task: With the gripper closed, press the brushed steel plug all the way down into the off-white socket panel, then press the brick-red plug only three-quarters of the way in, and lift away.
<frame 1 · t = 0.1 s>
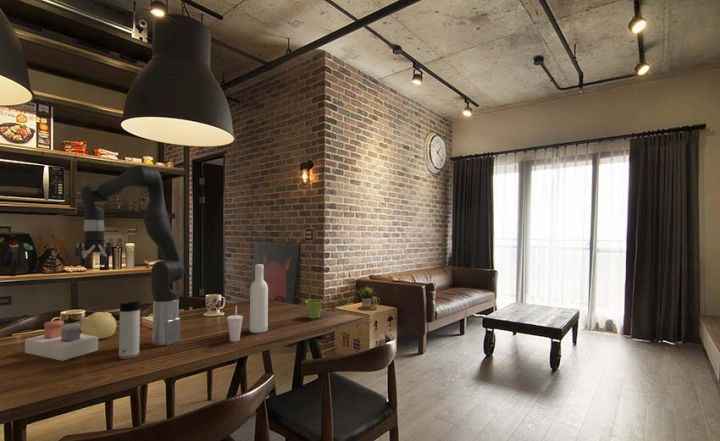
hand: (93, 265, 167), 29 cm above the table, tool pointing down, fingers open, 8 cm apart
smoothie: (234, 340, 153), on the table
socket panel: (61, 351, 138), on the table
bottle: (258, 331, 168), on the table
pale yellow round lump: (99, 338, 156), on the table
travel mug: (129, 356, 133), on the table
steel plug: (70, 332, 136), point 7 cm above the table, slide at 0.0 cm
plant pot: (313, 317, 194), on the table
red plug: (53, 330, 140), point 7 cm above the table, slide at 0.0 cm
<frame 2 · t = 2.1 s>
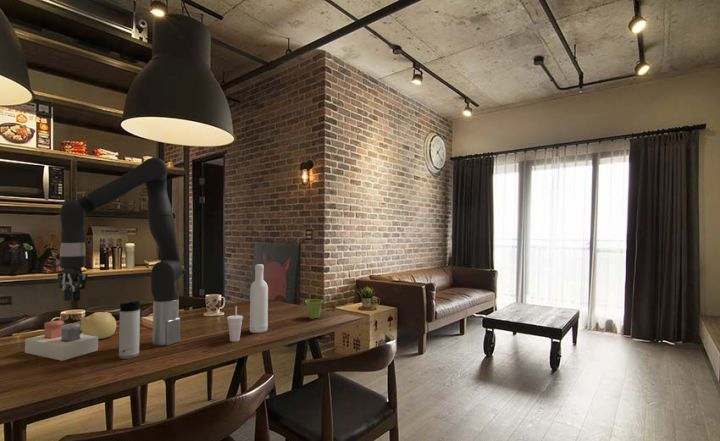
hand: (71, 300, 137), 19 cm above the table, tool pointing down, fingers open, 4 cm apart
nothing on the table moved.
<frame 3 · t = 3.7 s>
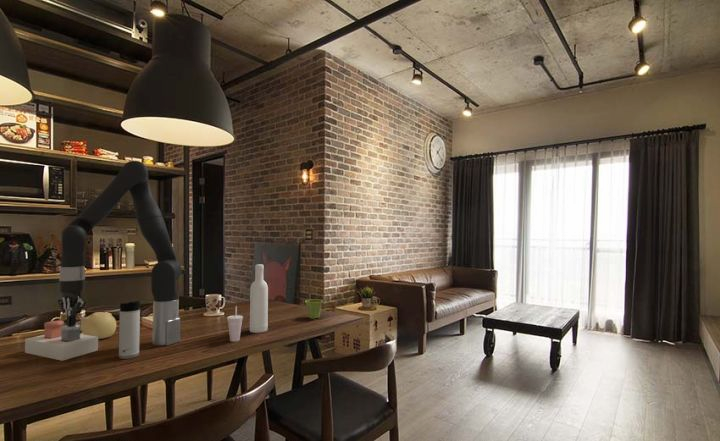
hand: (70, 325, 137), 10 cm above the table, tool pointing down, fingers closed
steel plug: (70, 333, 136), point 7 cm above the table, slide at 0.3 cm, touching gripper
everything else where it was.
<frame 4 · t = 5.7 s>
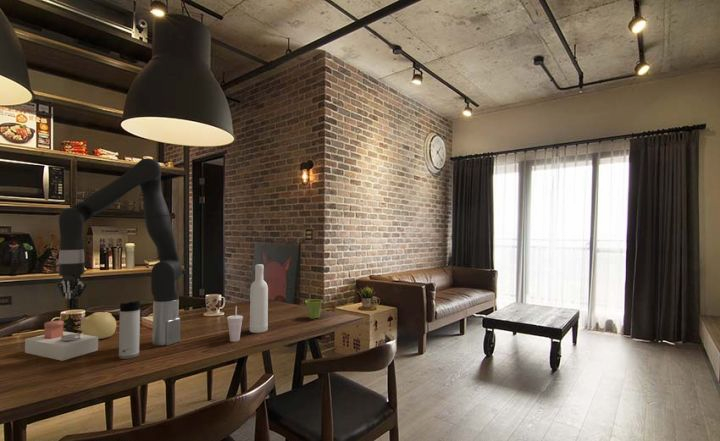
hand: (71, 308, 136), 16 cm above the table, tool pointing down, fingers closed
steel plug: (70, 344, 136), point 3 cm above the table, slide at 4.1 cm
everything else where it was.
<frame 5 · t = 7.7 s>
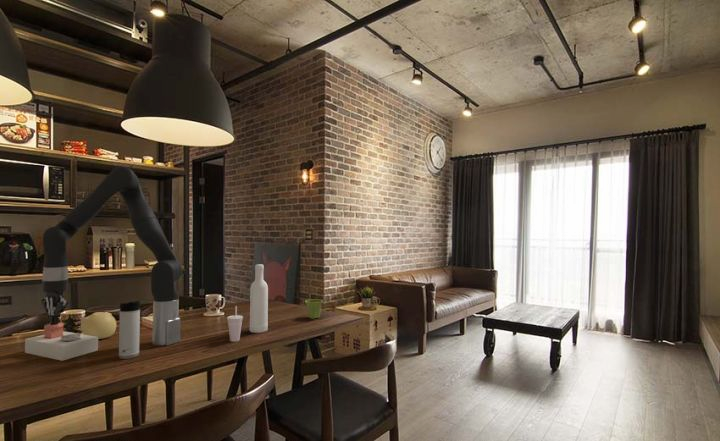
hand: (54, 324, 140), 10 cm above the table, tool pointing down, fingers closed
red plug: (53, 332, 140), point 7 cm above the table, slide at 0.9 cm, touching gripper
everything else where it was.
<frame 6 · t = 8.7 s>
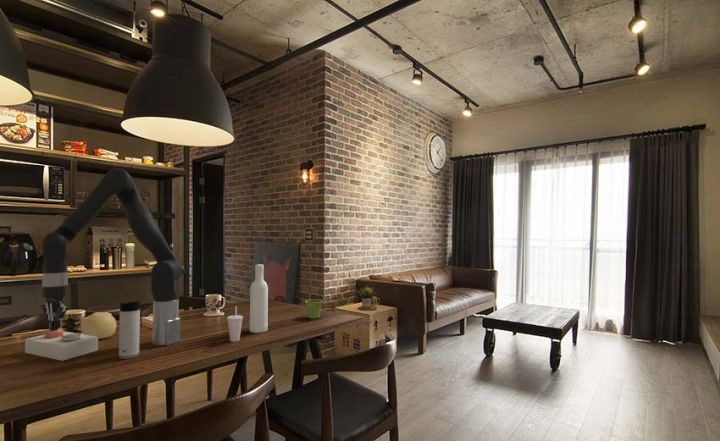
hand: (53, 330, 140), 7 cm above the table, tool pointing down, fingers closed
red plug: (53, 337, 140), point 4 cm above the table, slide at 3.0 cm
everything else where it was.
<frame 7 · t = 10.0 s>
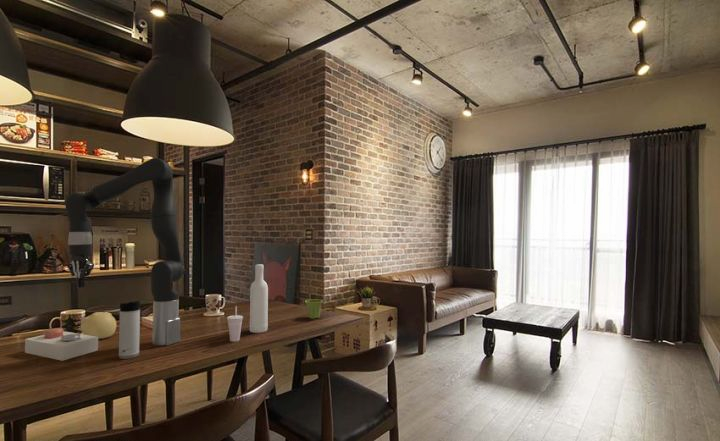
hand: (80, 287, 146), 23 cm above the table, tool pointing down, fingers closed
nothing on the table moved.
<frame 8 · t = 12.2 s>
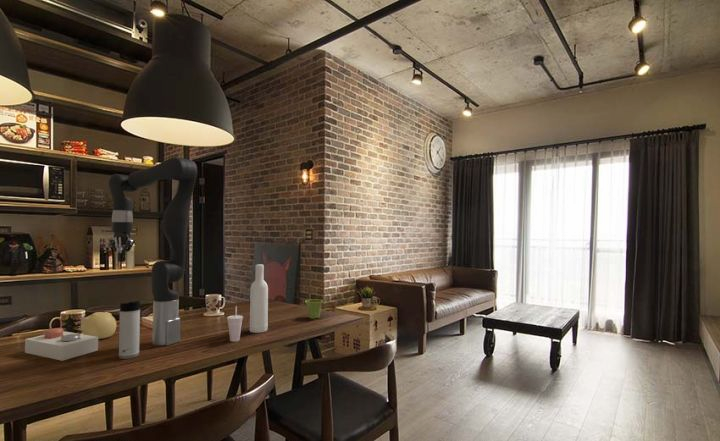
hand: (121, 261, 158), 32 cm above the table, tool pointing down, fingers closed
nothing on the table moved.
at the end: steel plug slide at 4.1 cm; red plug slide at 3.0 cm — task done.
